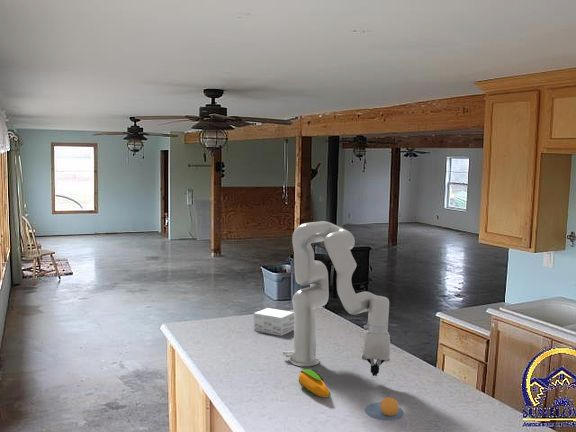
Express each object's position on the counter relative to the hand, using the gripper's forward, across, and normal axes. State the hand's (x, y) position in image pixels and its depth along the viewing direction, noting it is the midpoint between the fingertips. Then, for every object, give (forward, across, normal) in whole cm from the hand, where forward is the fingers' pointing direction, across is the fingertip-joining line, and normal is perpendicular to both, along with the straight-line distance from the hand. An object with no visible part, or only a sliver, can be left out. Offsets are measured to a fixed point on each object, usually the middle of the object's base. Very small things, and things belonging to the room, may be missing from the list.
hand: (374, 374), depth 211 cm
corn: (+4, -23, -12) cm, 26 cm away
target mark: (+3, +1, -25) cm, 25 cm away
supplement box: (+6, -43, +64) cm, 78 cm away
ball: (0, +2, -27) cm, 27 cm away
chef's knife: (+5, +1, +37) cm, 38 cm away
